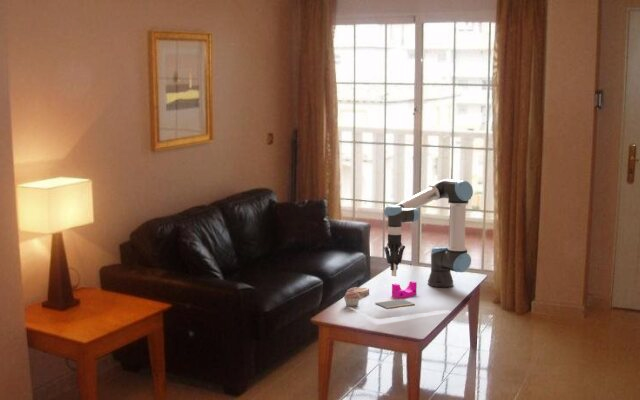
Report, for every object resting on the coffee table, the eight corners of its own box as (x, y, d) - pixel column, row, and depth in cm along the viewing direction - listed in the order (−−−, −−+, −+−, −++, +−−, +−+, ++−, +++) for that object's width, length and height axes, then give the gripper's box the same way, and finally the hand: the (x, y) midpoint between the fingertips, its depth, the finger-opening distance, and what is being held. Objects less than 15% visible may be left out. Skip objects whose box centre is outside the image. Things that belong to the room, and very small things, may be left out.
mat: (402, 300, 440) (402, 299, 440) (414, 304, 429) (414, 303, 429) (375, 303, 431) (375, 302, 431) (386, 308, 421) (386, 307, 421)
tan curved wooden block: (346, 290, 448) (360, 291, 443) (355, 286, 456) (369, 288, 451) (346, 297, 448) (360, 299, 443) (355, 293, 457) (369, 295, 452)
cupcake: (357, 308, 422) (357, 290, 421) (341, 306, 425) (341, 288, 424) (362, 304, 431) (362, 286, 430) (346, 302, 434) (346, 285, 433)
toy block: (398, 299, 443) (398, 286, 442) (391, 296, 448) (392, 284, 448) (419, 295, 451) (419, 282, 450) (412, 293, 456) (412, 280, 456)
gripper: (401, 232, 438) (400, 273, 441) (380, 233, 432) (380, 275, 435) (408, 234, 431) (407, 276, 434) (387, 235, 426) (387, 278, 428)
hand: (393, 275), depth 434 cm, fingers closed
